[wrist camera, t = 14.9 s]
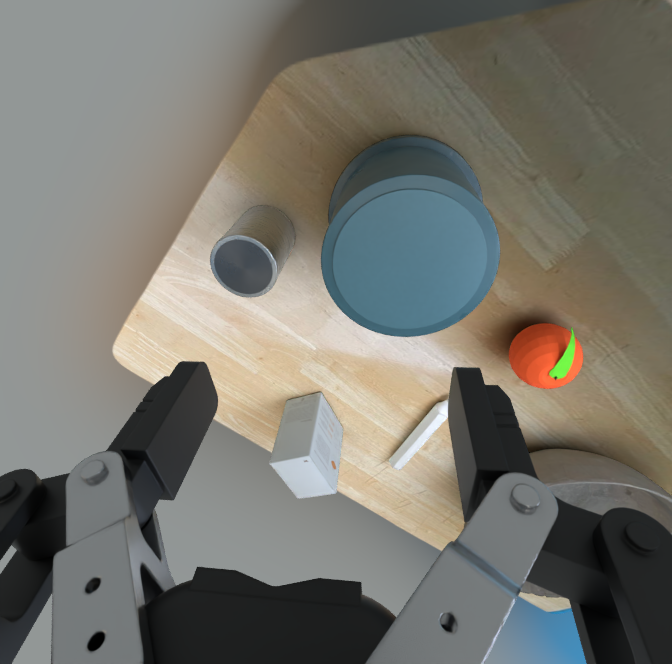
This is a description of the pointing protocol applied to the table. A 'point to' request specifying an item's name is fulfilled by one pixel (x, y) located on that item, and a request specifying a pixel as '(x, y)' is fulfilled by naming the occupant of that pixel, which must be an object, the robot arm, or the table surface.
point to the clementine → (546, 355)
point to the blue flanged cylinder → (408, 238)
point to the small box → (308, 447)
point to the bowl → (597, 488)
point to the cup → (253, 251)
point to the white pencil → (420, 435)
